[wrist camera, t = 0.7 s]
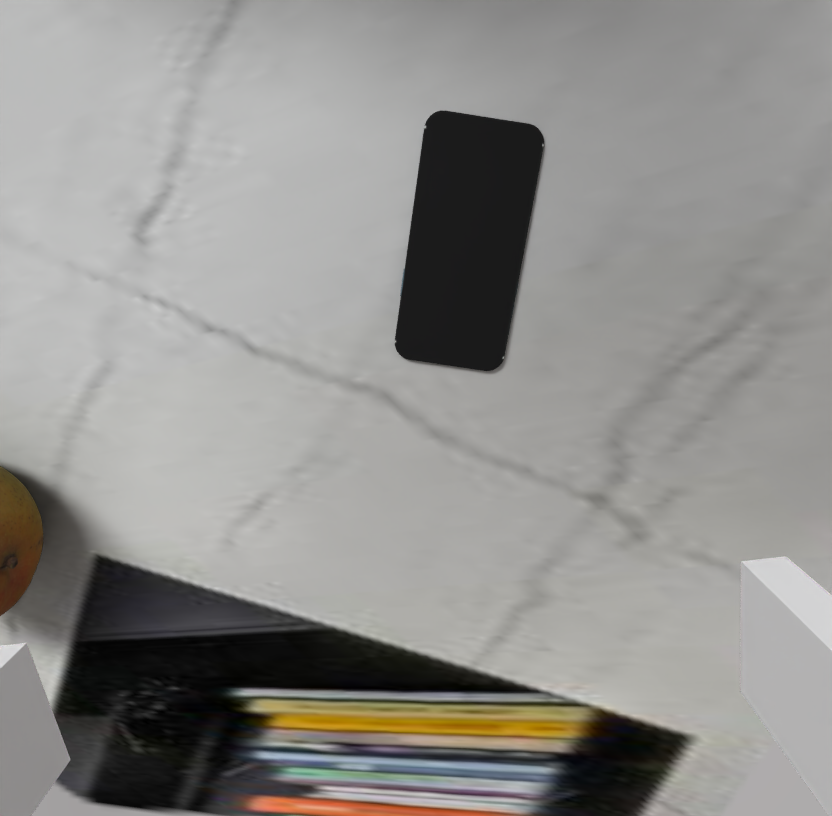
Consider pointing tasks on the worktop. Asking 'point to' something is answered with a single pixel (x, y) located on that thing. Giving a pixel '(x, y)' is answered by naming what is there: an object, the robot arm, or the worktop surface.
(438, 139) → the smartphone
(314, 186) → the worktop surface
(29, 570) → the fruit
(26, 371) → the worktop surface
